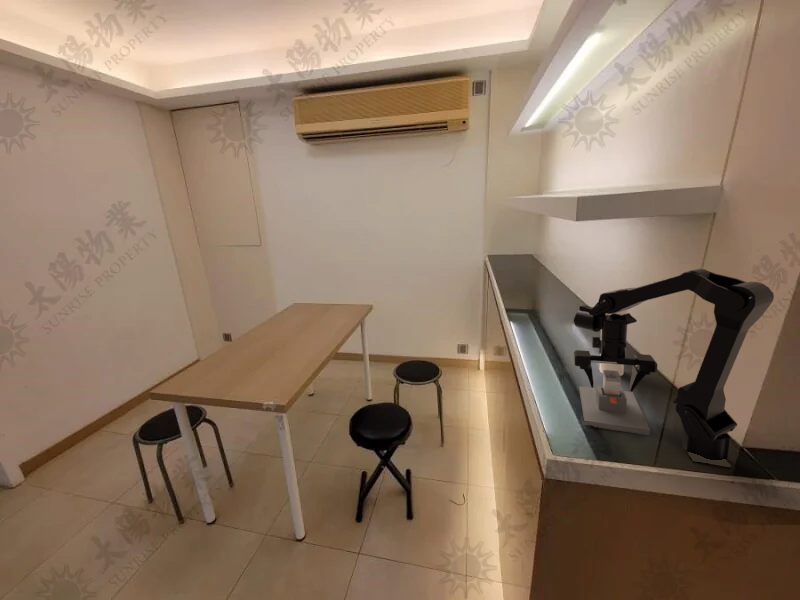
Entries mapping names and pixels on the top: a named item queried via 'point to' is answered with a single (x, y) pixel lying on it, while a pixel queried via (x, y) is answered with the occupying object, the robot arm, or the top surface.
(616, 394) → the grey-brown stepped block
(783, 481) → the top surface
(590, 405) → the jack stand base
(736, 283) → the robot arm
